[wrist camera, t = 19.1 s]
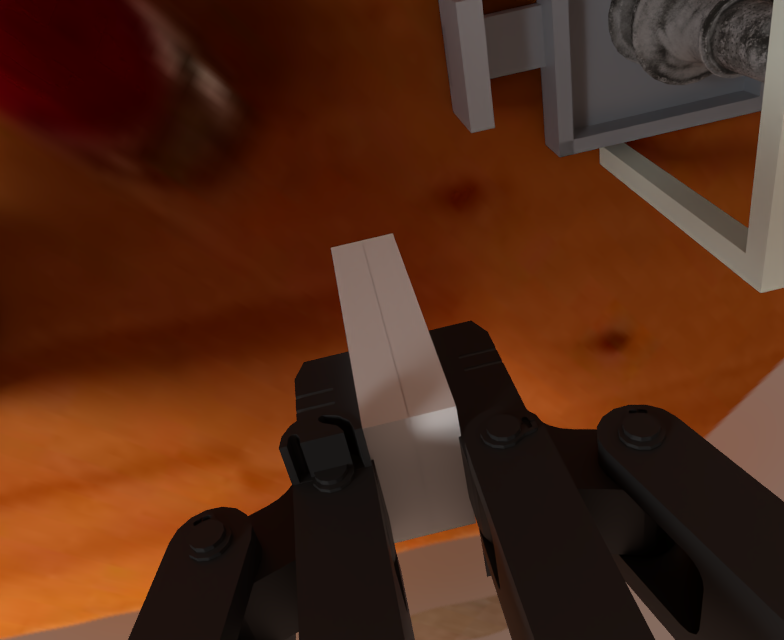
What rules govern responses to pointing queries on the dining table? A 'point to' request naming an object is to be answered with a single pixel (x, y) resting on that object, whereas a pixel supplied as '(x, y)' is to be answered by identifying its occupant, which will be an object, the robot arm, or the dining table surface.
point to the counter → (702, 218)
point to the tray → (575, 75)
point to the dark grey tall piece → (693, 37)
